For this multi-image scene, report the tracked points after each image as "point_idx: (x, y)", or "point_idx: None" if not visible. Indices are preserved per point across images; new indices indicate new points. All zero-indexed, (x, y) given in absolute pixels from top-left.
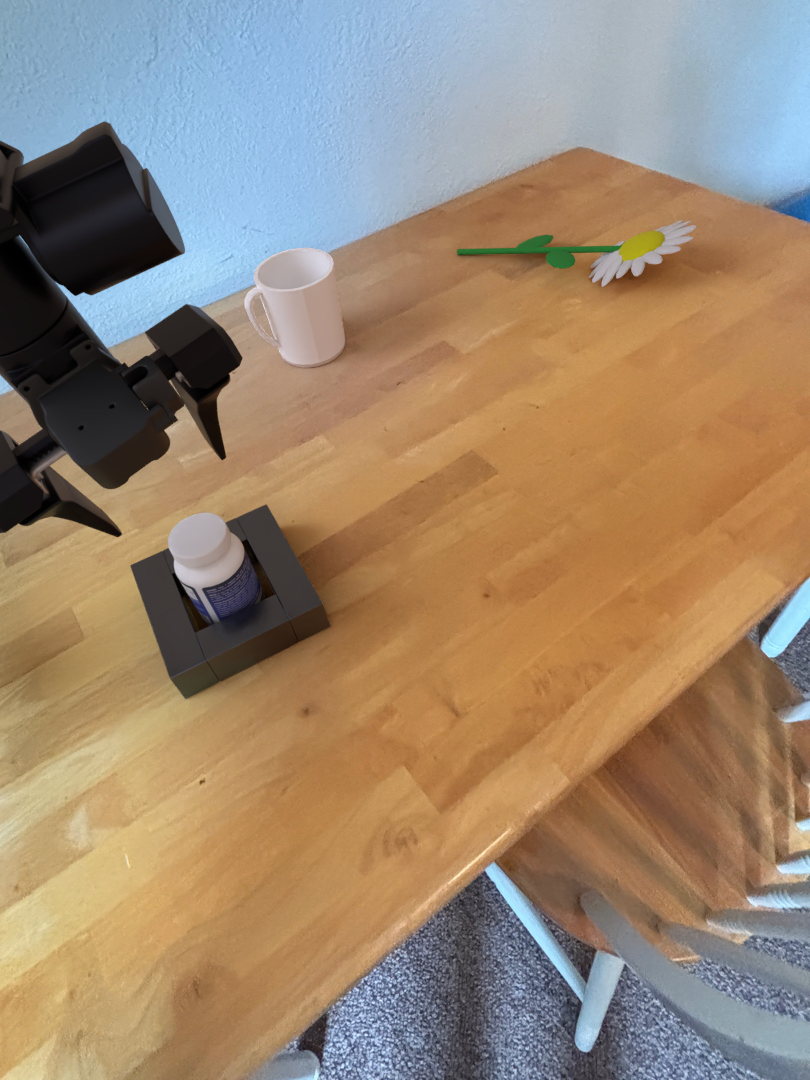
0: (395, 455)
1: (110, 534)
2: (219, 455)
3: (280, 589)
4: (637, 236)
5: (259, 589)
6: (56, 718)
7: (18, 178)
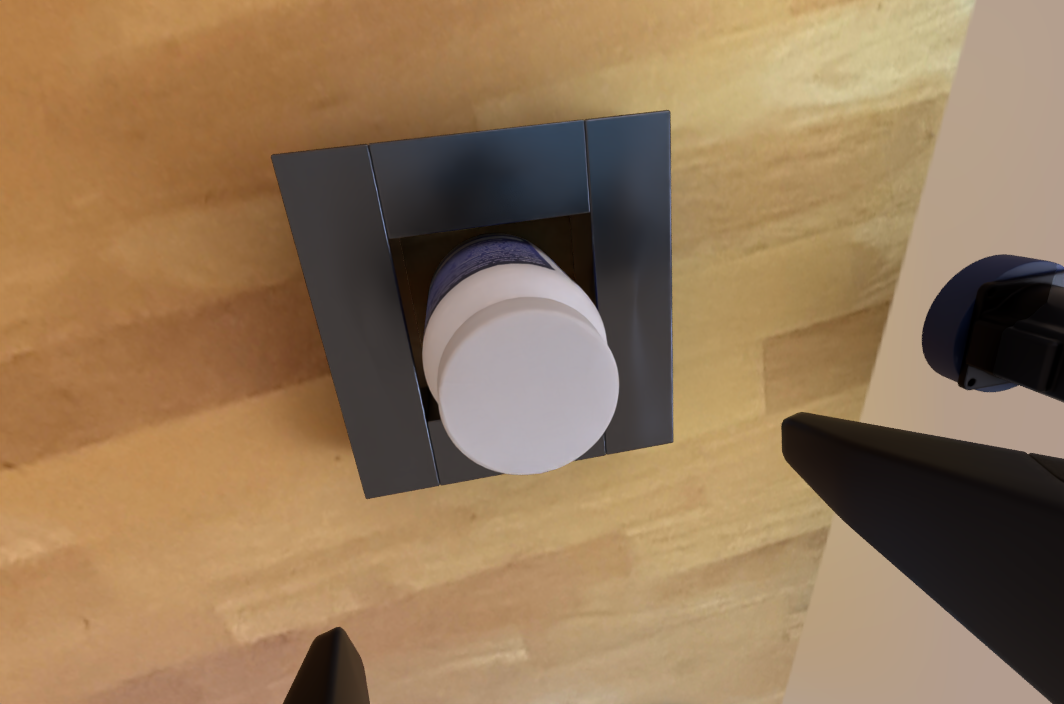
0: (70, 552)
1: (838, 418)
2: (331, 656)
3: (374, 247)
4: None
5: (430, 289)
6: (847, 192)
7: None
